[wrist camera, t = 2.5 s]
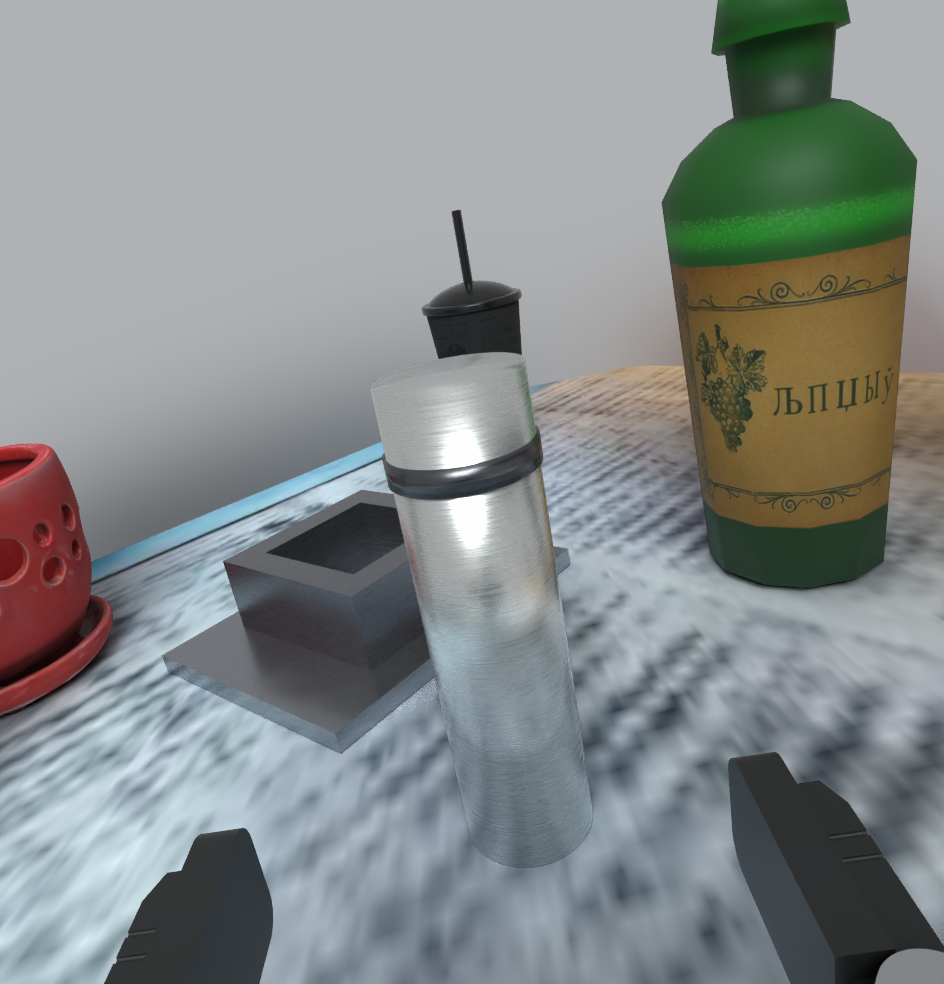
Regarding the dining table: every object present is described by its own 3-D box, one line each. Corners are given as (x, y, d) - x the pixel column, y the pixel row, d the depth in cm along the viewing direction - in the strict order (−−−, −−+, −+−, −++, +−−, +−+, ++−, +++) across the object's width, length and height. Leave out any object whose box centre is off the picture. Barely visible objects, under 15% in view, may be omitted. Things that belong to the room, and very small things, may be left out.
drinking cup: (557, 469, 60) (519, 198, 53) (463, 491, 59) (411, 218, 52) (531, 444, 67) (494, 203, 60) (446, 464, 66) (398, 220, 59)
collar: (399, 533, 53) (384, 465, 52) (570, 564, 44) (558, 484, 43) (167, 671, 41) (137, 588, 39) (340, 753, 32) (311, 651, 30)
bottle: (696, 611, 37) (642, -61, 28) (686, 521, 47) (643, -1, 37) (941, 601, 35) (975, -148, 25) (877, 507, 44) (884, -60, 35)
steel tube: (515, 756, 30) (439, 353, 25) (620, 796, 27) (560, 349, 22) (439, 836, 27) (332, 393, 21) (548, 892, 24) (457, 396, 18)
